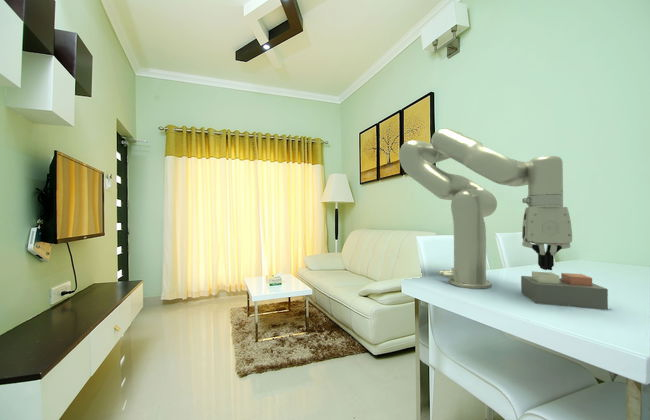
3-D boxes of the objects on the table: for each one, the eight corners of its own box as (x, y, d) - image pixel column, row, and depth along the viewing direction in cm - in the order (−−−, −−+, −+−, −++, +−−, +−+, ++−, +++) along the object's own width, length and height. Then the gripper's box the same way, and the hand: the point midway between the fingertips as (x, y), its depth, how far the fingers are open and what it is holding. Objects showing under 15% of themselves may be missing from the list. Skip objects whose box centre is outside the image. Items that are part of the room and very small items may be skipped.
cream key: (538, 286, 75) (538, 274, 75) (531, 282, 79) (531, 271, 79) (559, 288, 74) (559, 276, 74) (551, 283, 78) (551, 272, 78)
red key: (570, 288, 73) (570, 276, 73) (561, 284, 77) (561, 272, 77) (592, 290, 72) (592, 277, 72) (581, 285, 76) (581, 274, 76)
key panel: (535, 303, 73) (535, 284, 73) (521, 292, 82) (521, 275, 82) (607, 309, 69) (607, 289, 69) (583, 297, 78) (583, 279, 78)
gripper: (518, 202, 75) (519, 270, 75) (586, 201, 71) (587, 273, 71) (509, 203, 82) (509, 265, 82) (570, 202, 78) (571, 268, 78)
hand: (545, 269), depth 76 cm, fingers closed
